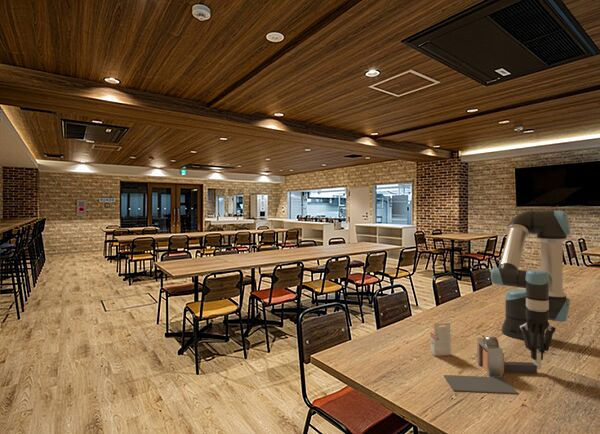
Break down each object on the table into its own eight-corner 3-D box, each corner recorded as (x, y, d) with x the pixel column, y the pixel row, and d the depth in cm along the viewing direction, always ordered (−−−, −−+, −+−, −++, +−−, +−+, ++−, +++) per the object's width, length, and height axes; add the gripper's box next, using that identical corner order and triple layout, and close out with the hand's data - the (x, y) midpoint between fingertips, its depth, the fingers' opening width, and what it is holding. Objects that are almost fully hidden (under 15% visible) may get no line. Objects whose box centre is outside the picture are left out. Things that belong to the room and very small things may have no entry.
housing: (489, 364, 141) (489, 332, 141) (502, 377, 130) (502, 343, 130) (477, 363, 142) (477, 332, 141) (489, 376, 131) (489, 342, 130)
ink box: (430, 352, 153) (430, 321, 152) (446, 352, 154) (446, 320, 153) (434, 356, 149) (434, 324, 149) (451, 355, 150) (450, 323, 150)
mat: (502, 378, 129) (502, 377, 129) (518, 393, 118) (518, 392, 118) (443, 376, 131) (443, 375, 131) (453, 391, 121) (453, 390, 121)
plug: (531, 368, 137) (531, 349, 136) (538, 374, 132) (538, 354, 131) (482, 367, 138) (482, 348, 138) (488, 373, 133) (488, 353, 133)
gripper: (548, 306, 137) (548, 363, 137) (514, 306, 138) (514, 362, 138) (560, 312, 129) (560, 372, 129) (525, 311, 130) (525, 371, 131)
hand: (536, 367), depth 134 cm, fingers closed
